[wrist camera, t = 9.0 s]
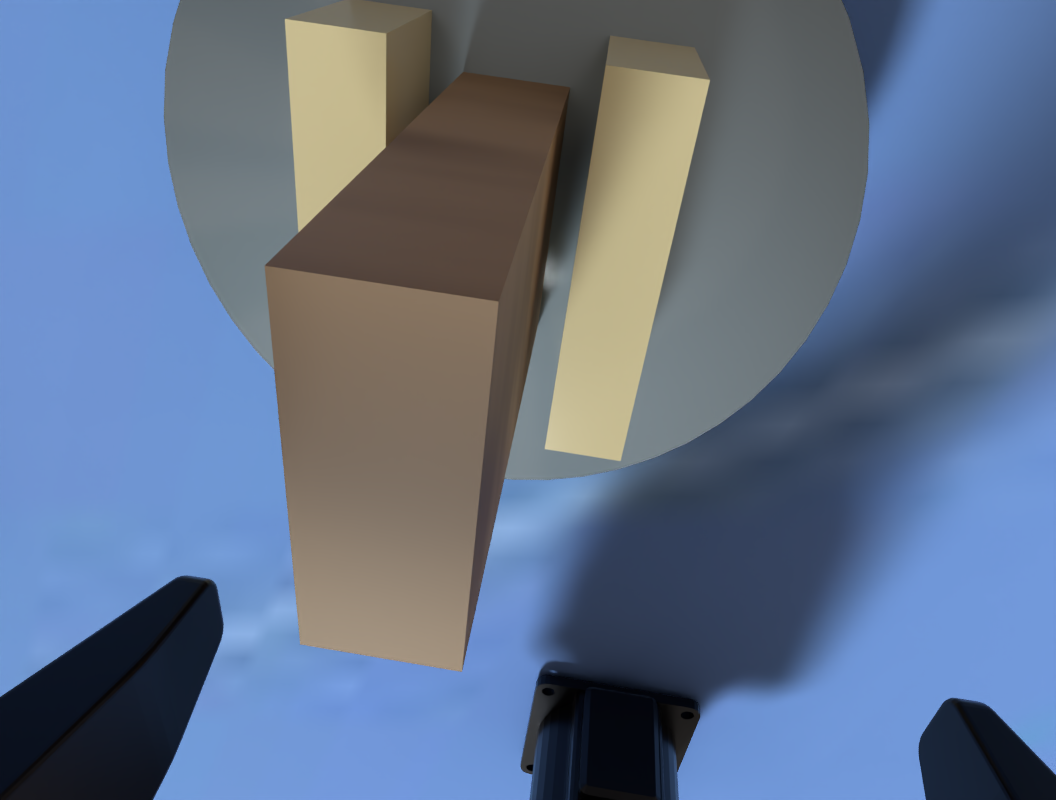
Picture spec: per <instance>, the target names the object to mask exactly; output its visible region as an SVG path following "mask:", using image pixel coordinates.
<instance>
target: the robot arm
mask: <svg viewBox="0 0 1056 800" xmlns="http://www.w3.org/2000/svg"><path fill="white" fill-rule="evenodd" d="M223 625H224V624H223V617H222V612H221V606H220V601H219V596H218V590H217V586H216V584H215V583H214V582H213V581H212V580H210V579H206V578H200V577H194V576H180V577H177V578H175V579H174V580H172V581H171V582H169V583H168V584H166V585H165V586H163V587H162V588H160V589H159V590H157V591H156V592H154V593H153V594H151V595H150V596H148V597H147V598H145V599H144V600H143V601H141V602H140V603H138V604H137V605H135V606H134V607H132V608H131V609H129V610H128V611H126V612H125V613H123V614H122V615H120V616H119V617H117V618H116V619H115V620H113V621H112V622H110V623H109V624H107V625H106V626H104V627H103V628H101V629H100V630H98V631H97V632H95V633H94V634H92V635H91V636H89V637H88V638H86V639H85V640H84V641H82V642H81V643H79V644H78V645H76V646H75V647H73V648H72V649H70V650H69V651H67V652H66V653H64V654H63V655H61V656H60V657H58V658H57V659H56V660H54V661H53V662H51V663H50V664H48V665H47V666H45V667H44V668H42V669H41V670H39V671H38V672H36V673H35V674H33V675H32V676H30V677H29V678H27V679H26V680H25V681H23V682H22V683H20V684H19V685H17V686H16V687H14V688H13V689H11V690H10V691H8V692H7V693H5V694H4V695H2V696H1V697H0V800H153V798H154V797H155V795H156V793H157V791H158V789H159V787H160V785H161V783H162V781H163V779H164V777H165V775H166V773H167V771H168V769H169V767H170V765H171V763H172V761H173V759H174V757H175V754H176V752H177V750H178V747H179V745H180V742H181V740H182V738H183V735H184V733H185V730H186V728H187V725H188V722H189V720H190V717H191V715H192V712H193V710H194V707H195V705H196V702H197V700H198V697H199V695H200V692H201V690H202V687H203V685H204V682H205V680H206V677H207V675H208V672H209V670H210V667H211V665H212V662H213V659H214V657H215V654H216V652H217V649H218V647H219V644H220V642H221V638H222V634H223ZM699 719H700V707H699V704H698V702H696V701H695V700H692V699H688V698H682V697H676V696H670V695H664V694H658V693H652V692H646V691H640V690H635V689H629V688H623V687H617V686H611V685H605V684H599V683H593V682H588V681H582V680H576V679H570V678H564V677H558V676H552V675H544V676H541V677H539V678H538V679H537V682H536V687H535V692H534V697H533V702H532V707H531V712H530V718H529V723H528V728H527V733H526V738H525V743H524V748H523V753H522V759H521V769H522V770H523V771H524V772H526V773H529V774H532V783H531V792H530V800H679V797H678V779H677V772H678V769H679V767H680V764H681V762H682V760H683V757H684V755H685V752H686V750H687V748H688V745H689V743H690V740H691V738H692V736H693V733H694V731H695V728H696V726H697V724H698V721H699ZM919 760H920V766H921V772H922V778H923V784H924V791H925V797H926V800H1056V775H1055V774H1054V773H1053V772H1052V770H1051V769H1050V768H1049V767H1048V766H1047V765H1046V764H1045V763H1044V762H1043V761H1042V760H1041V759H1040V758H1039V757H1038V756H1037V755H1036V754H1035V753H1034V752H1033V751H1032V750H1031V749H1030V748H1029V747H1028V746H1027V745H1026V744H1025V743H1024V741H1023V740H1022V739H1021V738H1020V737H1019V736H1018V735H1017V734H1016V733H1015V732H1014V731H1013V730H1012V729H1011V728H1010V727H1009V726H1008V725H1007V724H1006V723H1005V722H1004V721H1003V720H1002V719H1001V718H1000V717H999V716H998V715H997V714H996V712H995V711H993V710H992V709H991V708H990V707H989V706H987V705H986V704H984V703H981V702H977V701H971V700H964V699H958V698H950V699H948V700H946V701H944V703H943V704H942V705H941V707H940V708H939V710H938V711H937V713H936V714H935V716H934V717H933V719H932V720H931V722H930V723H929V725H928V726H927V728H926V729H925V731H924V732H923V734H922V736H921V739H920V742H919Z"/></svg>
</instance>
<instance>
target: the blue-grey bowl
mask: <svg viewBox="0 0 1056 800" xmlns="http://www.w3.org/2000/svg"><path fill="white" fill-rule="evenodd" d="M462 72H468V73H475V74H482V75H489V76H496V77H503V78H510V79H516V80H523V81H530V82H537V83H544V84H551V85H558V86H565V87H570V92H569V99H568V106H567V114H566V121H565V129H564V136H563V143H562V151H561V158H560V166H559V173H558V180H557V188H556V195H555V203H554V210H553V217H552V225H551V232H550V240H549V247H548V254H547V262H546V269H545V276H544V284H543V291H542V299H541V306H540V313H539V321H538V327H537V332H536V336H535V341H534V346H533V350H532V355H531V359H530V364H529V368H528V373H527V377H526V382H525V386H524V391H523V396H522V400H521V405H520V409H519V414H518V418H517V423H516V427H515V432H514V437H513V441H512V446H511V450H510V455H509V459H508V464H507V468H506V473H505V478H504V479H512V480H551V479H562V478H572V477H583V476H588V475H593V474H598V473H603V472H608V471H613V470H617V469H621V468H624V467H627V466H630V465H634V464H637V463H640V462H643V461H646V460H649V459H652V458H655V457H657V456H659V455H662V454H664V453H666V452H668V451H671V450H673V449H675V448H677V447H680V446H682V445H684V444H686V443H688V442H690V441H692V440H693V439H695V438H697V437H699V436H700V435H702V434H704V433H705V432H707V431H709V430H710V429H712V428H714V427H716V426H717V425H719V424H720V423H722V422H723V421H724V420H726V419H727V418H728V417H730V416H731V415H732V414H734V413H735V412H736V411H738V410H739V409H740V408H742V407H743V406H744V405H746V404H747V403H748V402H750V401H751V400H752V399H753V398H754V397H755V396H756V395H757V394H758V393H759V392H760V391H761V390H762V389H763V388H764V387H765V386H766V385H767V384H769V383H770V382H771V381H772V380H773V379H774V378H775V377H776V376H777V375H778V374H779V373H780V372H781V370H782V369H783V368H784V367H785V366H786V364H787V363H788V362H789V361H790V359H791V358H792V357H793V356H794V354H795V353H796V352H797V351H798V350H799V348H800V347H801V346H802V345H803V343H804V342H805V341H806V339H807V338H808V336H809V334H810V333H811V331H812V330H813V328H814V326H815V325H816V323H817V322H818V320H819V318H820V317H821V315H822V314H823V312H824V310H825V309H826V307H827V306H828V304H829V301H830V299H831V297H832V295H833V293H834V291H835V288H836V286H837V284H838V282H839V280H840V277H841V275H842V273H843V271H844V269H845V266H846V264H847V261H848V258H849V254H850V251H851V248H852V245H853V241H854V238H855V235H856V232H857V228H858V225H859V222H860V217H861V211H862V205H863V199H864V193H865V187H866V181H867V175H868V145H869V118H868V109H867V100H866V91H865V82H864V74H863V69H862V65H861V61H860V57H859V53H858V49H857V46H856V42H855V38H854V34H853V30H852V26H851V23H850V19H849V17H848V14H847V12H846V9H845V7H844V5H843V2H842V0H180V3H179V6H178V9H177V12H176V15H175V19H174V22H173V27H172V33H171V39H170V45H169V51H168V57H167V63H166V69H165V98H164V123H165V134H166V144H167V155H168V164H169V168H170V173H171V177H172V182H173V186H174V191H175V195H176V200H177V205H178V208H179V211H180V214H181V217H182V219H183V222H184V225H185V228H186V231H187V234H188V237H189V240H190V243H191V245H192V248H193V250H194V252H195V254H196V256H197V258H198V260H199V262H200V265H201V267H202V269H203V271H204V273H205V275H206V277H207V279H208V281H209V283H210V285H211V287H212V288H213V290H214V292H215V293H216V295H217V297H218V298H219V300H220V301H221V303H222V305H223V306H224V308H225V310H226V311H227V313H228V314H229V316H230V318H231V319H232V320H233V322H234V323H235V324H236V326H237V327H238V328H239V330H240V331H241V332H242V333H243V335H244V336H245V337H246V339H247V340H248V341H249V342H250V344H251V345H252V346H253V348H254V349H255V350H256V351H257V352H258V353H259V354H260V355H261V357H262V358H263V359H264V360H265V361H266V362H267V363H268V364H269V365H270V366H271V367H272V368H273V369H274V361H273V350H272V340H271V329H270V319H269V308H268V298H267V287H266V276H265V265H266V264H267V263H268V262H269V261H270V260H271V259H272V258H273V257H274V256H275V255H276V254H277V253H278V252H279V251H280V250H281V249H282V248H283V247H284V246H285V245H286V244H287V243H288V242H289V241H290V240H291V239H292V238H293V237H294V236H295V235H296V234H297V233H299V232H300V231H301V230H302V229H303V228H304V227H305V226H306V225H307V224H308V223H309V222H310V221H311V220H312V219H313V218H314V217H315V216H316V215H317V214H318V213H319V212H320V211H321V210H322V209H323V208H324V207H325V206H326V205H327V204H328V203H329V202H330V201H331V200H332V199H333V198H334V197H335V196H336V195H337V194H338V193H339V192H340V191H342V190H343V189H344V188H345V187H346V186H347V185H348V184H349V183H350V182H351V181H352V180H353V179H354V178H355V177H356V176H357V175H358V174H359V173H360V172H361V171H362V170H363V169H364V168H365V167H366V166H367V165H368V164H369V163H370V162H371V161H372V160H373V159H374V158H375V157H376V156H377V155H378V154H379V153H380V152H381V151H382V150H384V149H385V148H386V147H387V146H388V145H389V144H390V143H391V142H392V141H393V140H394V139H395V138H396V137H397V136H398V135H399V134H400V133H401V132H402V131H403V130H404V129H405V128H406V127H407V126H408V125H409V124H410V123H411V122H412V121H413V120H414V119H415V118H416V117H417V116H418V115H419V114H420V113H421V112H422V111H423V110H424V109H425V108H427V107H428V106H429V105H430V104H431V103H432V102H433V101H434V100H435V99H436V98H437V97H438V96H439V95H440V94H441V93H442V92H443V91H444V90H445V89H446V88H447V87H448V86H449V85H450V84H451V83H452V82H453V81H454V80H455V79H456V78H457V77H458V76H459V75H460V74H461V73H462Z"/></svg>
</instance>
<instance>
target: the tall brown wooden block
mask: <svg viewBox="0 0 1056 800" xmlns="http://www.w3.org/2000/svg"><path fill="white" fill-rule="evenodd" d="M569 92H570V87H565V86H558V85H551V84H544V83H537V82H530V81H523V80H516V79H510V78H503V77H496V76H489V75H482V74H475V73H468V72H462V73H461V74H460V75H459V76H458V77H457V78H456V79H455V80H454V81H453V82H452V83H451V84H450V85H449V86H448V87H447V88H446V89H445V90H444V91H443V92H442V93H441V94H440V95H439V96H438V97H437V98H436V99H435V100H434V101H433V102H432V103H431V104H430V105H429V106H428V107H427V108H425V109H424V110H423V111H422V112H421V113H420V114H419V115H418V116H417V117H416V118H415V119H414V120H413V121H412V122H411V123H410V124H409V125H408V126H407V127H406V128H405V129H404V130H403V131H402V132H401V133H400V134H399V135H398V136H397V137H396V138H395V139H394V140H393V141H392V142H391V143H390V144H389V145H388V146H387V147H386V148H385V149H384V150H382V151H381V152H380V153H379V154H378V155H377V156H376V157H375V158H374V159H373V160H372V161H371V162H370V163H369V164H368V165H367V166H366V167H365V168H364V169H363V170H362V171H361V172H360V173H359V174H358V175H357V176H356V177H355V178H354V179H353V180H352V181H351V182H350V183H349V184H348V185H347V186H346V187H345V188H344V189H343V190H342V191H340V192H339V193H338V194H337V195H336V196H335V197H334V198H333V199H332V200H331V201H330V202H329V203H328V204H327V205H326V206H325V207H324V208H323V209H322V210H321V211H320V212H319V213H318V214H317V215H316V216H315V217H314V218H313V219H312V220H311V221H310V222H309V223H308V224H307V225H306V226H305V227H304V228H303V229H302V230H301V231H300V232H299V233H297V234H296V235H295V236H294V237H293V238H292V239H291V240H290V241H289V242H288V243H287V244H286V245H285V246H284V247H283V248H282V249H281V250H280V251H279V252H278V253H277V254H276V255H275V256H274V257H273V258H272V259H271V260H270V261H269V262H268V263H267V264H266V265H265V276H266V287H267V298H268V308H269V319H270V329H271V340H272V350H273V361H274V371H275V382H276V393H277V403H278V414H279V424H280V435H281V445H282V456H283V466H284V477H285V488H286V498H287V509H288V519H289V530H290V540H291V551H292V562H293V572H294V583H295V593H296V604H297V614H298V625H299V635H300V644H301V645H307V646H313V647H319V648H325V649H331V650H337V651H343V652H349V653H354V654H360V655H366V656H372V657H378V658H384V659H390V660H396V661H402V662H407V663H413V664H419V665H425V666H431V667H437V668H443V669H449V670H455V671H460V672H462V669H463V664H464V660H465V655H466V651H467V646H468V642H469V637H470V632H471V628H472V623H473V619H474V614H475V610H476V605H477V601H478V596H479V591H480V587H481V582H482V578H483V573H484V569H485V564H486V560H487V555H488V550H489V546H490V541H491V537H492V532H493V528H494V523H495V519H496V514H497V509H498V505H499V500H500V496H501V491H502V487H503V482H504V478H505V473H506V468H507V464H508V459H509V455H510V450H511V446H512V441H513V437H514V432H515V427H516V423H517V418H518V414H519V409H520V405H521V400H522V396H523V391H524V386H525V382H526V377H527V373H528V368H529V364H530V359H531V355H532V350H533V346H534V341H535V336H536V332H537V327H538V321H539V313H540V306H541V299H542V291H543V284H544V276H545V269H546V262H547V254H548V247H549V240H550V232H551V225H552V217H553V210H554V203H555V195H556V188H557V180H558V173H559V166H560V158H561V151H562V143H563V136H564V129H565V121H566V114H567V106H568V99H569Z"/></svg>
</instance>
